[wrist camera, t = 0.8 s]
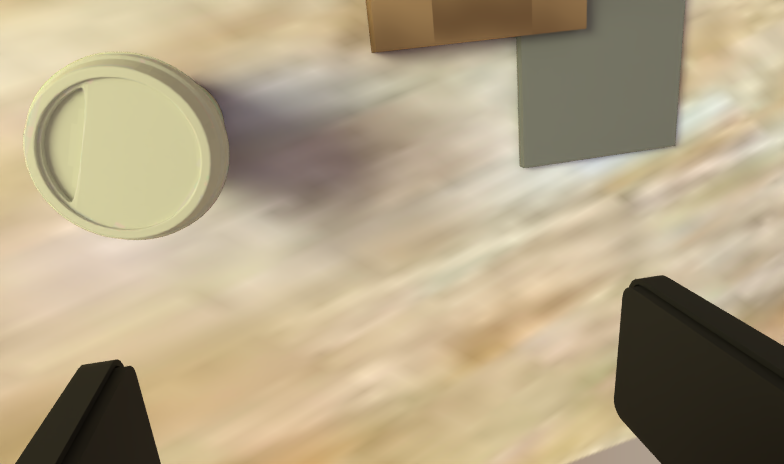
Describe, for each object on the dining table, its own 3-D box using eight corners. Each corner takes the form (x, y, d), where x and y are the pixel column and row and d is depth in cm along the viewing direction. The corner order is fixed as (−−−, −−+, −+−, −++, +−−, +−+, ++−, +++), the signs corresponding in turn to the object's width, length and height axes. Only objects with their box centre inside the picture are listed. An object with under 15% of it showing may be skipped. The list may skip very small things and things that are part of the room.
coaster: (515, -12, 35) (519, -14, 34) (679, -29, 36) (687, -30, 36) (519, 166, 39) (524, 168, 38) (667, 144, 40) (674, 145, 40)
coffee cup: (168, 23, 32) (101, 3, 21) (274, 125, 35) (265, 157, 24) (73, 122, 33) (-41, 156, 21) (185, 215, 36) (136, 287, 24)
